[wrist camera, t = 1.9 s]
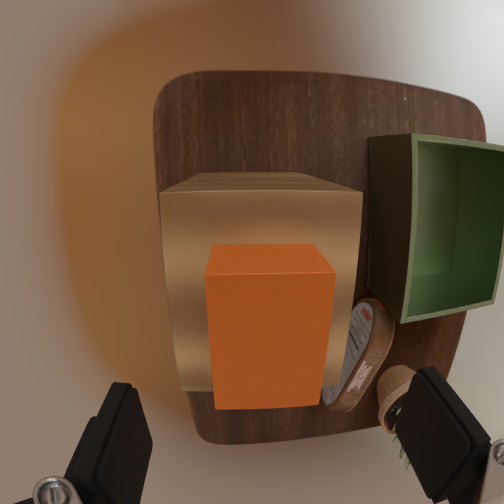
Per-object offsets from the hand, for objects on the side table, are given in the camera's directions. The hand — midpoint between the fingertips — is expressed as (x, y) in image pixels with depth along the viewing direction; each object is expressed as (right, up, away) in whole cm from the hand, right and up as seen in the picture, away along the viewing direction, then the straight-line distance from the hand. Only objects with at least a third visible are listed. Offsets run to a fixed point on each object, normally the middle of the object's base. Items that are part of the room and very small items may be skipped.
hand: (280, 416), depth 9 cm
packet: (0, +2, +7) cm, 8 cm away
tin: (+11, -6, +29) cm, 32 cm away
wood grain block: (-1, +8, +24) cm, 26 cm away
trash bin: (+19, +10, +25) cm, 33 cm away
